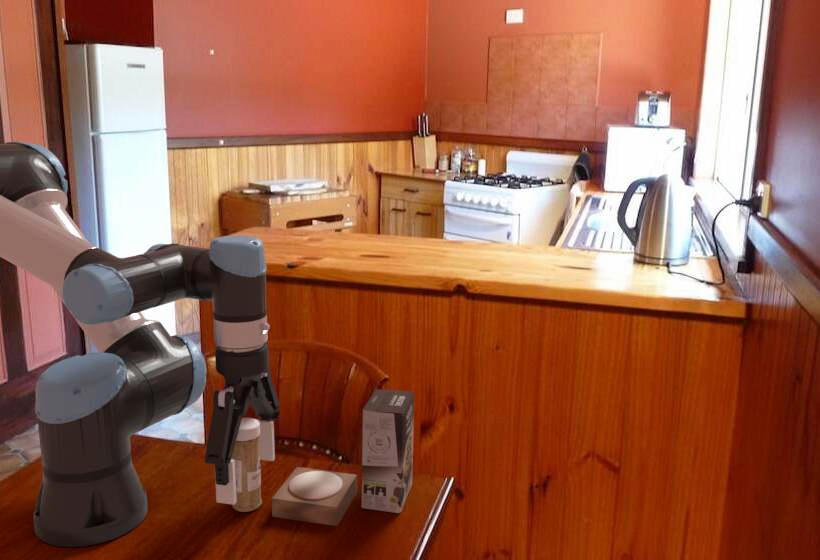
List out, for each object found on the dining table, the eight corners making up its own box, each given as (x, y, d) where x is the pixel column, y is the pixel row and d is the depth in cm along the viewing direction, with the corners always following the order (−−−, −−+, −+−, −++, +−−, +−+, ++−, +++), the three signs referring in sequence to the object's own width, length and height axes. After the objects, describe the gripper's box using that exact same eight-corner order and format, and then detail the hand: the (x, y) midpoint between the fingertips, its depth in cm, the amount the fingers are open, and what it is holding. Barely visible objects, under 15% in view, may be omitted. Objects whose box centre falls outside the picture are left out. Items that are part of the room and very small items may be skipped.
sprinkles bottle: (263, 510, 110) (261, 427, 107) (232, 515, 109) (229, 430, 106) (260, 495, 114) (257, 414, 111) (230, 499, 113) (226, 418, 110)
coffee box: (401, 514, 110) (403, 413, 106) (360, 509, 111) (360, 409, 107) (413, 484, 118) (416, 390, 115) (375, 480, 120) (376, 387, 116)
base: (272, 516, 108) (271, 495, 108) (297, 483, 118) (297, 464, 117) (337, 526, 106) (336, 504, 106) (357, 492, 116) (357, 472, 115)
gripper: (225, 376, 93) (233, 527, 98) (298, 322, 117) (301, 446, 121) (172, 371, 94) (181, 519, 99) (254, 319, 118) (258, 441, 123)
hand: (247, 479), depth 110 cm, fingers open, 13 cm apart
